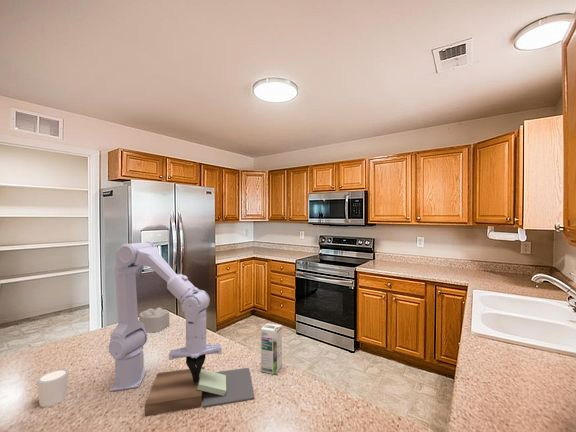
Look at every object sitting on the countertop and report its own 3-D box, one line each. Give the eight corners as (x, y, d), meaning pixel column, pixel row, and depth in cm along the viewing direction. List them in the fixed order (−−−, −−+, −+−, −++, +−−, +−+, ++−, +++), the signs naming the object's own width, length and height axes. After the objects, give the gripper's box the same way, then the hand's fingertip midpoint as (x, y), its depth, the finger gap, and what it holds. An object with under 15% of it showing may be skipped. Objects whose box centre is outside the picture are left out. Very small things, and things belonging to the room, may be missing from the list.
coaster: (199, 373, 83) (201, 368, 83) (223, 380, 85) (225, 375, 85) (197, 389, 75) (199, 384, 75) (224, 396, 77) (226, 390, 77)
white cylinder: (52, 392, 80) (52, 368, 80) (74, 392, 80) (75, 368, 80) (29, 408, 73) (29, 382, 73) (53, 408, 73) (54, 382, 73)
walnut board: (157, 382, 84) (157, 372, 84) (204, 376, 88) (204, 366, 88) (144, 416, 70) (144, 404, 70) (201, 406, 73) (201, 395, 73)
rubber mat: (206, 375, 88) (206, 373, 88) (248, 369, 92) (248, 367, 92) (202, 407, 73) (202, 405, 73) (254, 399, 76) (254, 397, 76)
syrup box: (260, 372, 90) (260, 328, 90) (267, 363, 95) (267, 322, 96) (275, 375, 88) (275, 330, 88) (282, 366, 93) (282, 324, 94)
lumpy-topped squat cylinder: (157, 333, 121) (157, 314, 121) (132, 331, 124) (132, 312, 124) (172, 325, 131) (172, 307, 131) (149, 323, 134) (149, 305, 134)
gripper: (167, 342, 74) (166, 392, 73) (221, 336, 77) (221, 384, 77) (171, 332, 80) (171, 378, 80) (221, 327, 84) (221, 371, 84)
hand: (196, 380), depth 79 cm, fingers closed
